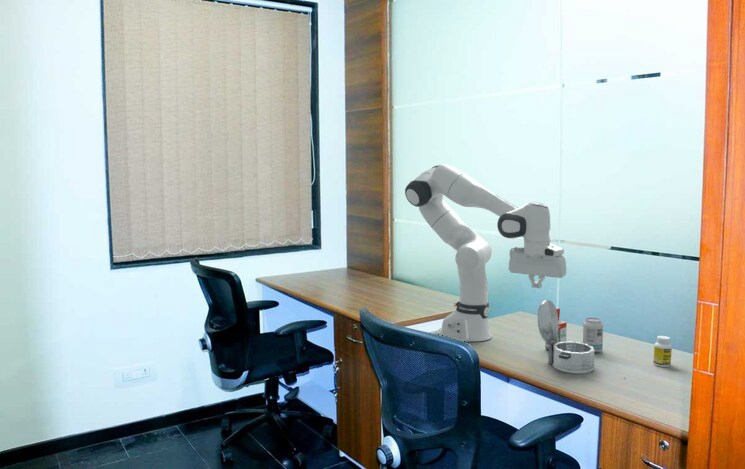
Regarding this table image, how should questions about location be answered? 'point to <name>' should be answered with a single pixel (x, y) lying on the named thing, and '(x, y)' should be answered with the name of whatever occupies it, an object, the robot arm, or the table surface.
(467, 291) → the robot arm
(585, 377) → the table surface
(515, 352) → the table surface
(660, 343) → the supplement bottle
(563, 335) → the ink box
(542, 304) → the lid
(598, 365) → the table surface
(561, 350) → the pot
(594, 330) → the beverage can
